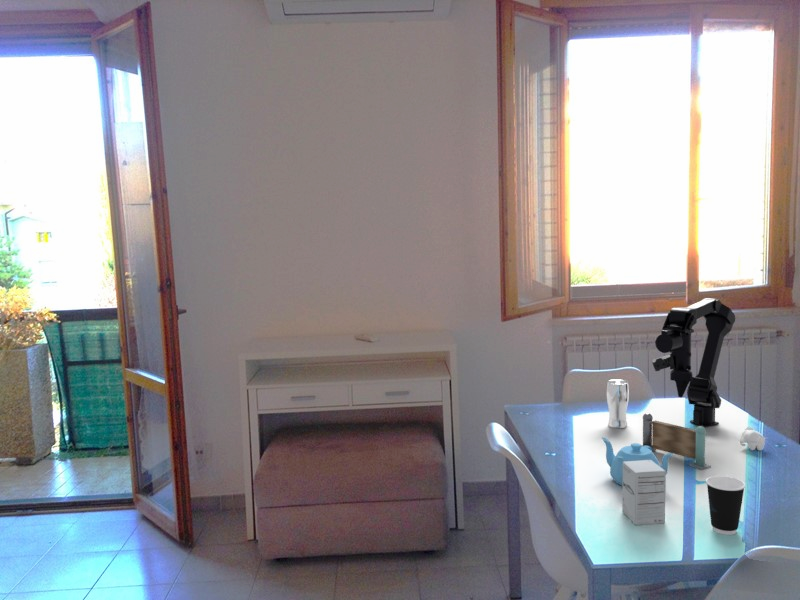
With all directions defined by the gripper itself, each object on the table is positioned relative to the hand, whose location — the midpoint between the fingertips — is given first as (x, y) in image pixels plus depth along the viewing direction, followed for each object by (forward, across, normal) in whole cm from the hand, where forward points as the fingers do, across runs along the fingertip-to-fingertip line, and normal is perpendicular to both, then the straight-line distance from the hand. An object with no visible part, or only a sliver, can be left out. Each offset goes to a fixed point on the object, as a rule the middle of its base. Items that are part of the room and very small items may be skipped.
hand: (680, 396), depth 216 cm
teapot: (+12, +46, -12) cm, 49 cm away
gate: (+11, +23, -1) cm, 26 cm away
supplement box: (+12, +67, -9) cm, 69 cm away
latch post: (+12, +29, +5) cm, 31 cm away
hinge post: (+12, +18, -9) cm, 23 cm away
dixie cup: (+12, +68, +8) cm, 70 cm away
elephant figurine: (+12, +9, +20) cm, 25 cm away
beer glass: (+12, -4, -19) cm, 23 cm away
